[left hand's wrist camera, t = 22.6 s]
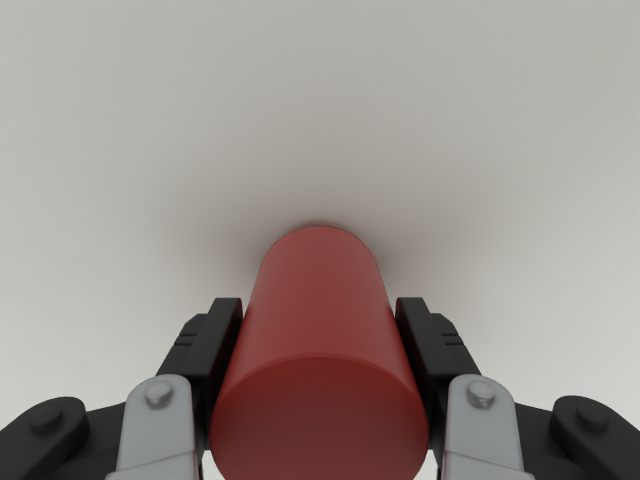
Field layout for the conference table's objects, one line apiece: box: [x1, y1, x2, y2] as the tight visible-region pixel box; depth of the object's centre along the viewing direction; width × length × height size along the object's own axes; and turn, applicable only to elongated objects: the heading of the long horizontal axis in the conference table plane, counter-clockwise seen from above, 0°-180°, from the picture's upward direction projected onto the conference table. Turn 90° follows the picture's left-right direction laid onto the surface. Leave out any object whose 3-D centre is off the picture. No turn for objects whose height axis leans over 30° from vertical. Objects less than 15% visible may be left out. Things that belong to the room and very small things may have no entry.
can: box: [209, 226, 430, 480], centre depth 12 cm, size 5×5×8 cm
